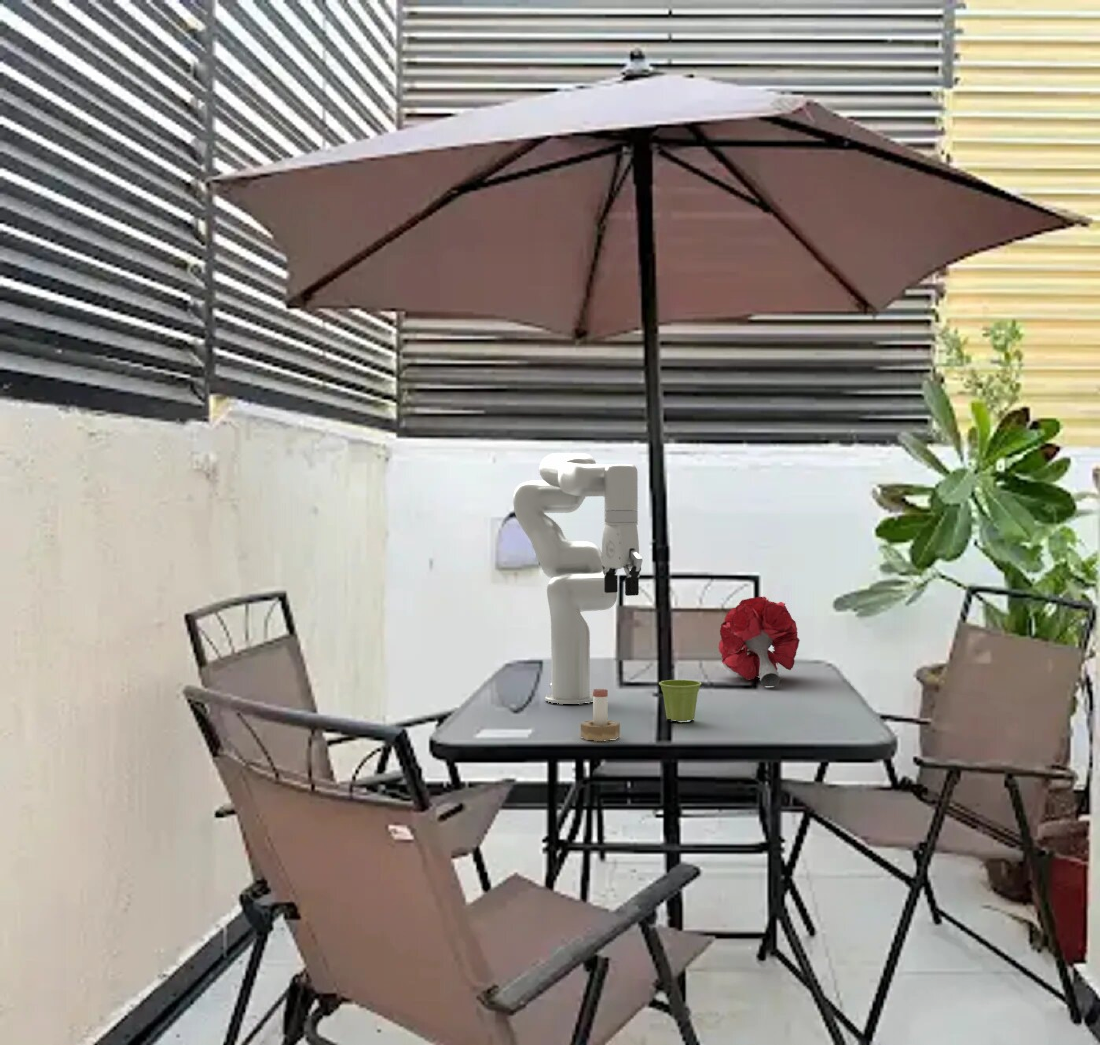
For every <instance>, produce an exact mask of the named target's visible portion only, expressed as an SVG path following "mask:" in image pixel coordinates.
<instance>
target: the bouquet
mask: <svg viewBox="0 0 1100 1045" xmlns="http://www.w3.org/2000/svg"><path fill="white" fill-rule="evenodd" d="M719 635H720V641H719V643H718V651H719V652H720V654H721V658H722V660H721V662H722V664H723V665H725V666H726V667H727V668H729V669H730V670H731V671H732V672H733V673H735V674H736V673H737V675H738V676H740V677H742V678H744V679H745V680H747V679H753V680H754V679H756V678H755V676H759V678H760V679H759V682H760V685H761V686H762V687H763V686H776V687H777V686H779V684H780V681H781V678H780V675H779V672H778V667H777V665H780V666H782V667H783V668H785V669H786V670H788V671H791V670H792V669H794V668H793V667H794V665H795V661H796V660H795V658H796V656H797V651H798V648H799V644H800V641H801V640H800V638H799V637H798V627H797V621H795V619H793V618H792V615H791V614H790V612H789V610H788V608H787V607H786V603H784V602H783V601H780V602H776V601H770V600H769V599H768V598H767V597H766V596H756V597H750V598H746V599H742V600H741V601H740V602H739V604H737V605H736V606H735V607H732V608H731V609H730V610H729V611H728V612H727V613H726V615H725V617H724V621H723V622H722V623H721V625H720V629H719ZM771 646H772V647H773V648H772V651H771V650H769V649H770V647H771Z"/></svg>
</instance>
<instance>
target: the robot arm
mask: <svg viewBox="0 0 1100 1045" xmlns="http://www.w3.org/2000/svg"><path fill="white" fill-rule="evenodd" d="M538 473H539V475H540V478H541V479H542V480H541V479H536V480H529V481H525V482H522V483H520V484H518V486H517V487H516V488H515V490H514V493H513V500H512V504H513V511H514V514H515V518H516V520H517V522H518V524H519V526H520V527H521V529H522V530H523V532H524V533H525V534H526V536H527V538H528V539H529V541H530V543H531V546H532V549H533V551H534V553H535V555H536V557H537V560H538V563H539V565H540V567H541V570H542V571H543V573H544V574H545V576H547V577H548V578H550V580H549V581H548V583H547V586H546V587H547V588H546V596H547V602H548V607H549V614H550V616H549V617H550V636H551V638H550V642H551V643H550V644H551V645H550V649H551V651H550V652H551V654H550V656H551V660H550V661H551V662H550V663H551V666H550V667H551V669H550V670H551V674H550V675H551V676H550V677H551V678H550V679H551V683H550V684H549V688H551V694H550V693H549V694H547V695H545V698H544V699H545V702H546V701H548V702H547V703H549V702H551V703H550V704H553V703H557V704H556V705H563V704H578V703H585V702H591V701H593V693H591V649H590V648H591V644H590V641H591V640H590V638H591V637H590V636H591V635H590V634H591V633H590V627H589V625H588V623H587V621H586V620H585V618H584V617H583V615H582V613H583V612H595V611H598V612H599V611H606V610H609V609H611V608H613V606H615V604H616V602H617V600H618V590H619V588H618V580H619V579H618V578H619V577H618V574H617V573H618V570H620V569H623V570H624V573H625V575H626V577H625V578H624V589H625V590H624V594H625V596H631V597H633V596H639V595H640V594H639V593H640V592H639V591H640V589H639V588H640V587H639V582H640V581H639V578H640V576H641V572H642V564H643V557H642V556H641V555H640V546H639V545H640V544H639V534H638V532H639V531H638V522H639V520H638V515H639V514H638V513H639V512H638V510H639V509H638V508H639V507H638V506H639V504H638V500H639V497H638V493H639V492H638V490H639V489H638V488H639V487H638V486H639V485H638V483H639V482H638V481H639V479H638V477H639V476H638V473H639V472H638V468H637V466H635V465H634V464H630V463H629V464H628V463H614V464H609V463H607V464H606V463H605V464H604V463H597V462H596V460H595V459H594V458H593V457H592V455H590V454H588V453H582V452H581V453H580V452H578V453H577V452H576V453H575V452H573V453H572V452H569V453H568V452H567V453H566V452H556V453H555V452H554V453H550V454H548V455H547V456H545V457H543V459H542V460H541V462H540V464H539V470H538ZM587 497H603V498H604V525H603V526H604V527H603V531H602V539H601V540H602V541H601V549H600V547H598V545H597V544H595V543H594V542H591V541H588V540H568V539H567V538H566V536H565V535H564V532H563V530H562V528H561V526H560V525H559V524H558V523H557V522H556V521H555V520H553V518H551V517H549V516H548V515H547V514H555V513H557V514H563V513H564V514H566V513H567V514H569V513H573V512H575V511H577V510H578V509H579V508H580V507H581V505H582V504H583V502H584V500H585V499H586V498H587ZM558 703H559V704H558Z"/></svg>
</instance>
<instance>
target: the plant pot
mask: <svg viewBox="0 0 1100 1045" xmlns="http://www.w3.org/2000/svg"><path fill="white" fill-rule="evenodd" d="M658 685H659V686H660V688H661V692H662V694H663V696H662V697H663V703H664V709H665V716H666V720H667V719H671V720H676V721H687V720H693V719H694V720H695V716H696V708H697V699H698V694H699V691H700V686H701V685H702V682H701V681H699V680H698V681H697V680H693V679H692V680H691V679H669V680H661V681H659V682H658Z"/></svg>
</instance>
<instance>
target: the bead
mask: <svg viewBox="0 0 1100 1045" xmlns="http://www.w3.org/2000/svg"><path fill="white" fill-rule="evenodd" d="M620 727H621V725H620V722H617V721H613V720H608V725H605V726H597V725H593V720H586V721H583V722H581V723H580V738H581V737H583V738H584V739H587V740H594V741H593V742H597V741H604V740H610V739H616V738H617V737H619V736H620V737H621V735H620V734H621V733H620V732H621V730H620ZM584 739H583V740H584ZM587 740H586V741H587Z"/></svg>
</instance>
